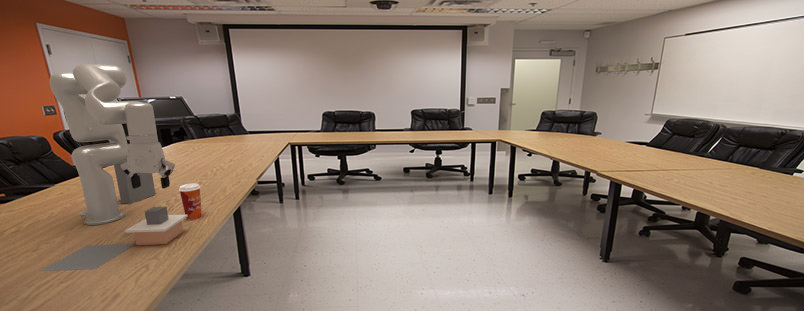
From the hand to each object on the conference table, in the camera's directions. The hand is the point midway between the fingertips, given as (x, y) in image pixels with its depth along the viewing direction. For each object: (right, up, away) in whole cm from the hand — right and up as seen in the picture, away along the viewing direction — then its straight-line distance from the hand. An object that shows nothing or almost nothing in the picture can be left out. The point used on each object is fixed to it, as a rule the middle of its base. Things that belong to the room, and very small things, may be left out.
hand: (151, 187), depth 113 cm
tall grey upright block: (-43, -11, +47) cm, 65 cm away
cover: (0, -13, +3) cm, 14 cm away
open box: (+1, -19, +4) cm, 20 cm away
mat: (-13, -22, -9) cm, 27 cm away
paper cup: (-1, -15, +24) cm, 29 cm away
